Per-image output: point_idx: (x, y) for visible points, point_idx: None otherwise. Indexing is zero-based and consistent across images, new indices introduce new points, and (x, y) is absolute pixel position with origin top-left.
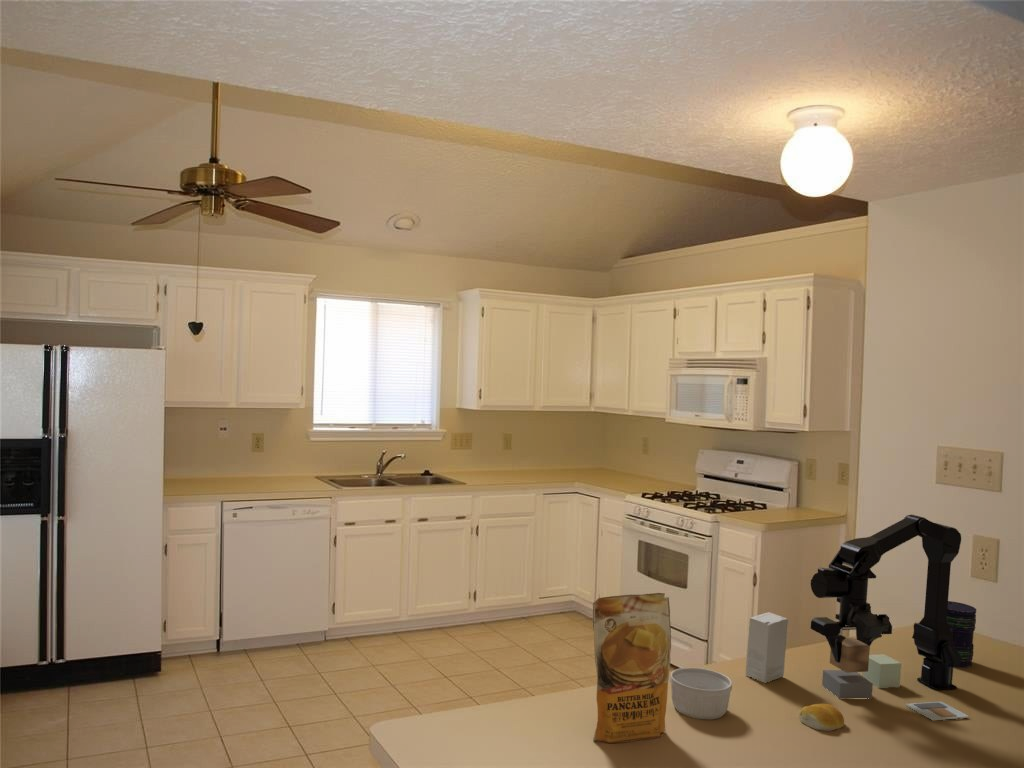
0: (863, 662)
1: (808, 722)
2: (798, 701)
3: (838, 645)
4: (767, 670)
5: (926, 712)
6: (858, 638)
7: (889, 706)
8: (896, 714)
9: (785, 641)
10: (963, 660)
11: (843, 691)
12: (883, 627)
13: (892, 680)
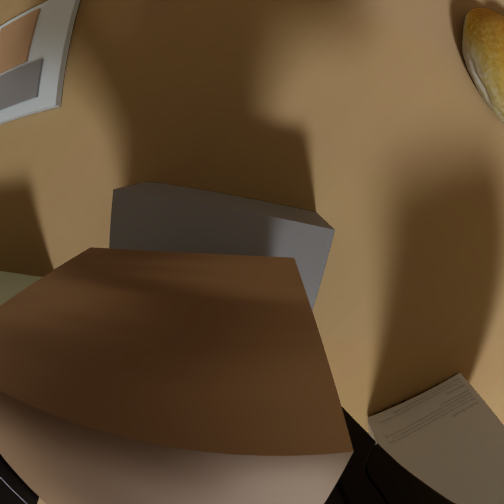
0: (95, 277)
1: None
2: (485, 230)
3: (402, 488)
4: (474, 399)
5: (51, 34)
6: (23, 494)
7: (124, 101)
8: (160, 26)
9: None
10: None
11: (303, 214)
12: None
13: (2, 283)
